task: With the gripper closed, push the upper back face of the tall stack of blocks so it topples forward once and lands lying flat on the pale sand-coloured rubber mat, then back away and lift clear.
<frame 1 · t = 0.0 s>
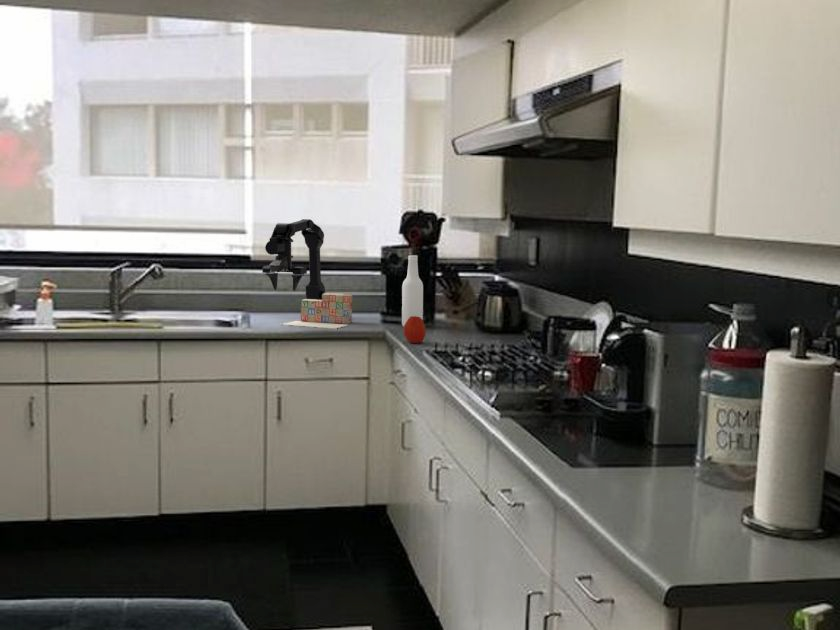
hand: (284, 290, 384), 15 cm above the worktop, fingers open, 9 cm apart
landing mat: (314, 325, 386), on the worktop
red oval lump: (414, 343, 343), on the worktop
alcohol: (412, 326, 385), on the worktop
stack of blocks: (326, 322, 395), on the worktop, touching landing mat
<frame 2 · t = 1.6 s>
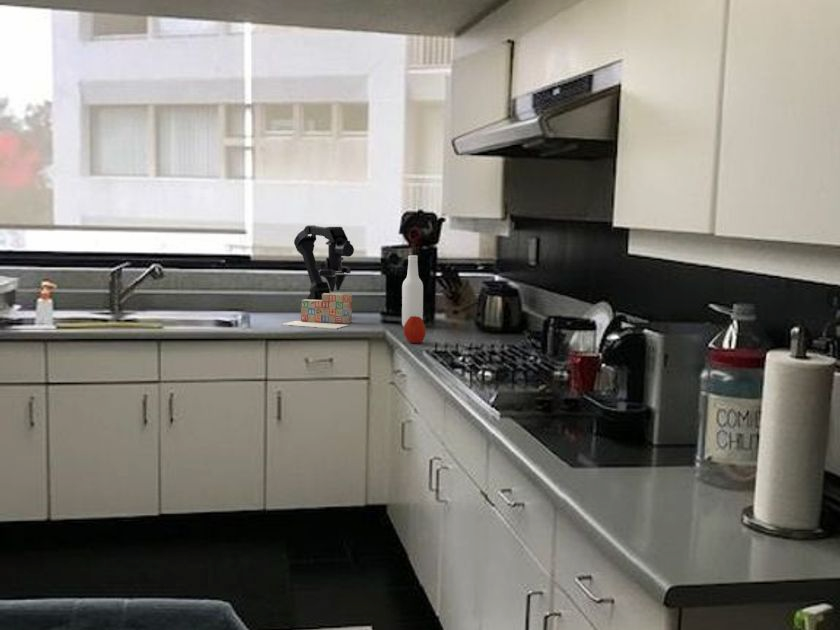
hand: (335, 290, 400), 13 cm above the worktop, fingers open, 5 cm apart
nothing on the worktop moved.
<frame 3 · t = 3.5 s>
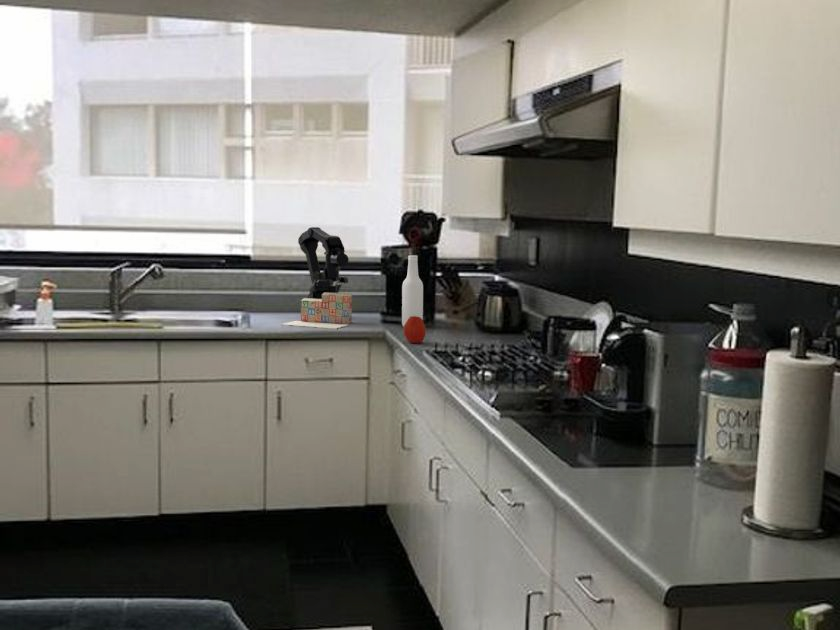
hand: (333, 301, 398), 9 cm above the worktop, fingers closed
stack of blocks: (326, 321, 395), on the worktop, touching gripper, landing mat
everything else where it was.
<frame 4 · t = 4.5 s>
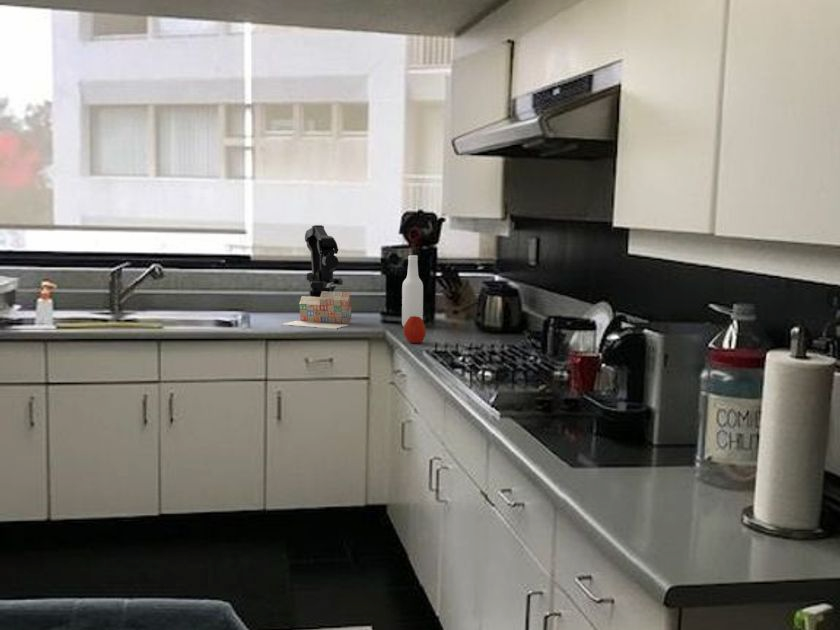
hand: (326, 302, 394), 9 cm above the worktop, fingers closed
stack of blocks: (326, 319, 394), point 2 cm above the worktop, touching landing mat
everything else where it was.
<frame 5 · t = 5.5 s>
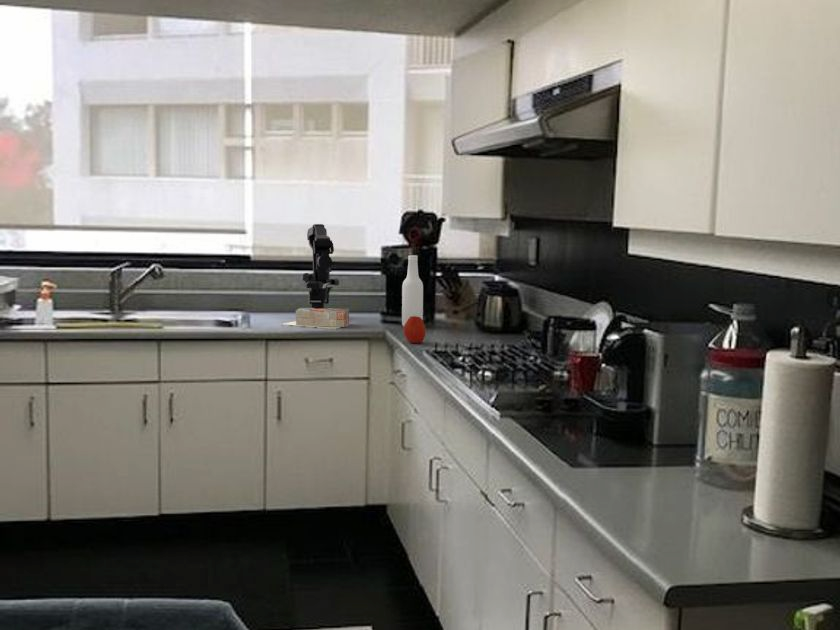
hand: (323, 303, 391), 9 cm above the worktop, fingers closed
stack of blocks: (325, 315, 391), point 4 cm above the worktop, touching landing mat
everything else where it was.
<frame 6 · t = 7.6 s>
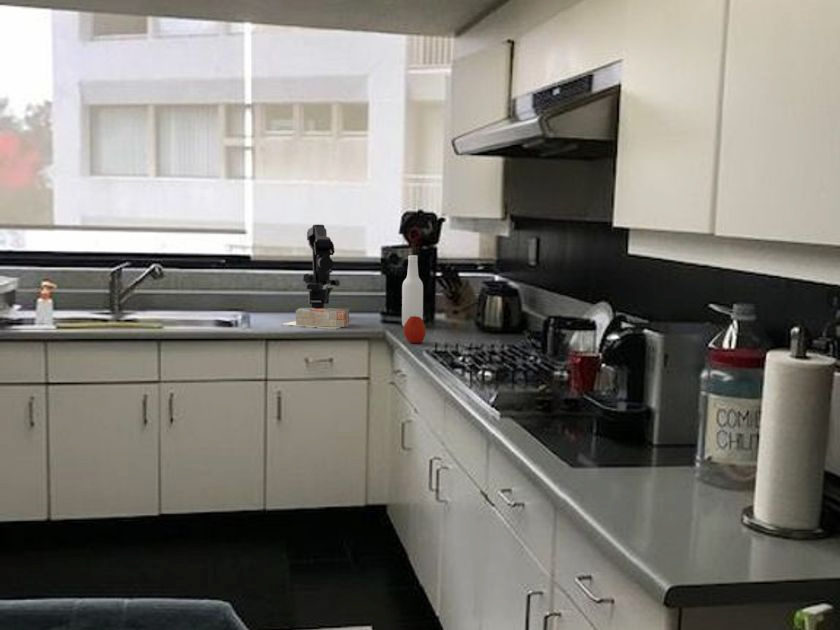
hand: (323, 304, 392), 8 cm above the worktop, fingers closed
nothing on the worktop moved.
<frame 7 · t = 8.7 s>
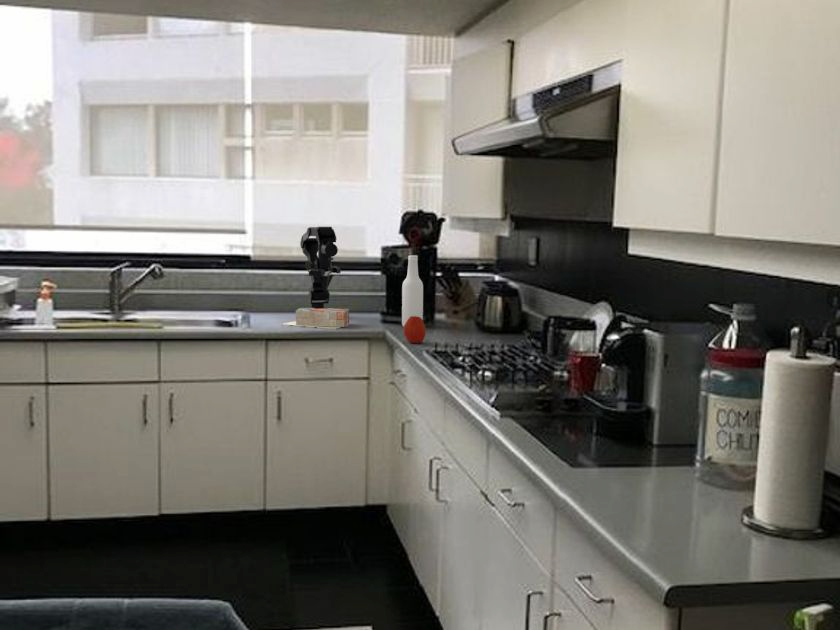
hand: (324, 290, 400), 13 cm above the worktop, fingers closed
nothing on the worktop moved.
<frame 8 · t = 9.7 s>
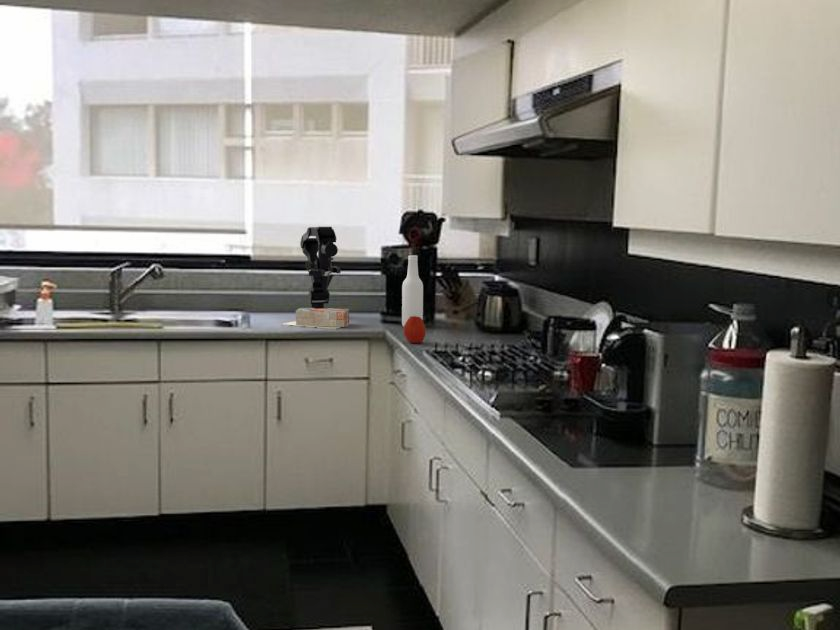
hand: (324, 290, 400), 13 cm above the worktop, fingers closed
nothing on the worktop moved.
at the end: stack of blocks tilted 90°; stack of blocks inside the target area (1.2 cm from its centre), point 3.5 cm above the worktop; stack of blocks touching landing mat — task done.
